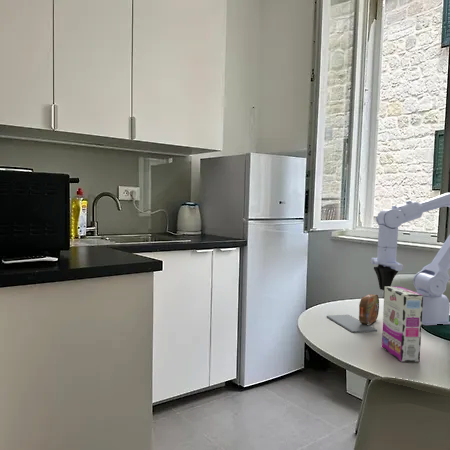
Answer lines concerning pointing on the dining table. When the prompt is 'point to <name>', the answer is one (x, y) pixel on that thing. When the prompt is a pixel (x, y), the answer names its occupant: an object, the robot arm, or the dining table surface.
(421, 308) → the candy bar box
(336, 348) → the dining table surface
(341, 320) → the pad
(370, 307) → the tin
